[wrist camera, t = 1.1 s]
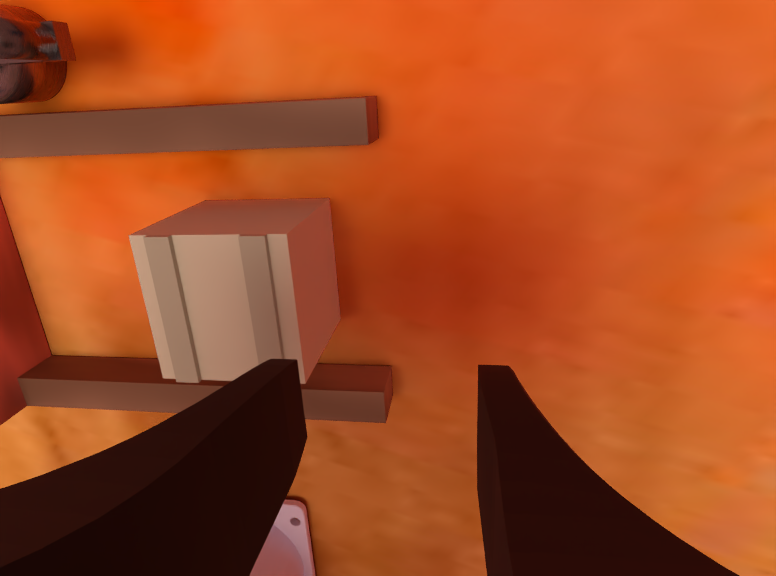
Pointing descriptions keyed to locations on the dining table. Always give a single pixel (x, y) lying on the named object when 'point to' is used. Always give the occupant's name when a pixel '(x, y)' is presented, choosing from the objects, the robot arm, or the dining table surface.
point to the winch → (31, 56)
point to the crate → (239, 286)
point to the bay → (148, 135)
